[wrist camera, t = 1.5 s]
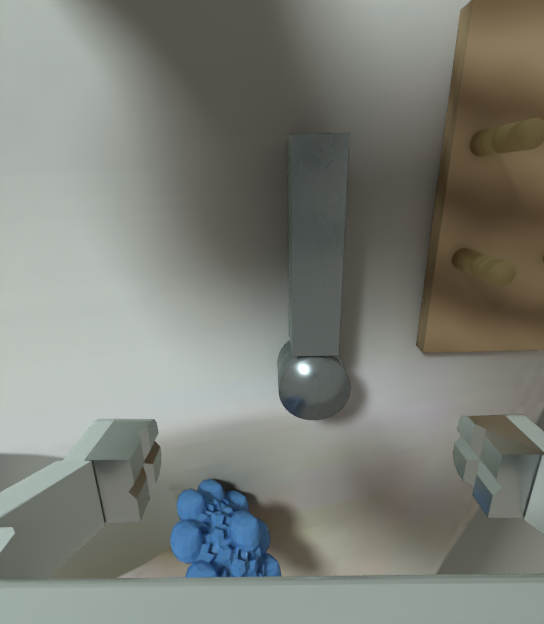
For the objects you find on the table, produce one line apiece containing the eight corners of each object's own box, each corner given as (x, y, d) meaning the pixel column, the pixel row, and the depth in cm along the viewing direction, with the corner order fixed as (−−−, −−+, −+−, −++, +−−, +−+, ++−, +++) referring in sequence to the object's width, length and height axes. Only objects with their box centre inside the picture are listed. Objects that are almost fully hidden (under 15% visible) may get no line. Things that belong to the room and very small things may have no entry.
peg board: (460, 10, 23) (530, -53, 17) (630, 6, 23) (761, -58, 17) (416, 345, 31) (451, 384, 25) (540, 342, 31) (606, 381, 25)
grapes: (303, 493, 37) (318, 629, 26) (263, 530, 39) (261, 672, 28) (212, 438, 35) (184, 563, 23) (174, 480, 36) (132, 614, 25)
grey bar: (273, 142, 25) (274, 134, 21) (350, 140, 25) (366, 132, 21) (277, 390, 33) (279, 420, 28) (338, 388, 33) (348, 419, 28)
